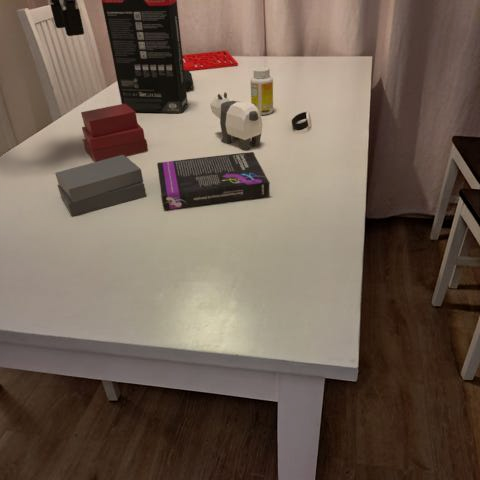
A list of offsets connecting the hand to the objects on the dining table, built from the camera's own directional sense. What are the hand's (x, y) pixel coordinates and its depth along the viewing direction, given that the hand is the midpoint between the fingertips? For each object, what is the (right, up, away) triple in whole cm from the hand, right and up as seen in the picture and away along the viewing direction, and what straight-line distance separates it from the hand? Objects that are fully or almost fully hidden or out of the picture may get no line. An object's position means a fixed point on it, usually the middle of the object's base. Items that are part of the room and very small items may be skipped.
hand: (69, 31), depth 90 cm
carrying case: (+13, +15, +52) cm, 56 cm away
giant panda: (+32, -16, +16) cm, 39 cm away
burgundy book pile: (+5, -18, +15) cm, 24 cm away
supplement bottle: (+39, -2, +30) cm, 49 cm away
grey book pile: (+7, -33, -2) cm, 34 cm away
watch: (+48, -10, +21) cm, 53 cm away
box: (+28, -31, -1) cm, 42 cm away
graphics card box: (+10, +1, +36) cm, 37 cm away
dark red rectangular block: (+5, -14, +12) cm, 19 cm away
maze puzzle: (+20, +35, +74) cm, 84 cm away
